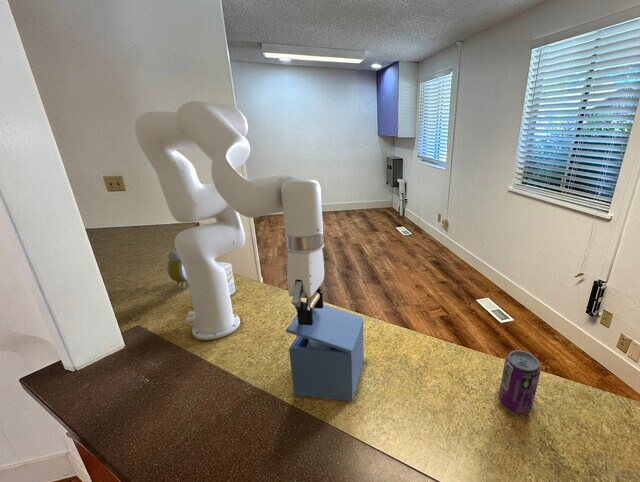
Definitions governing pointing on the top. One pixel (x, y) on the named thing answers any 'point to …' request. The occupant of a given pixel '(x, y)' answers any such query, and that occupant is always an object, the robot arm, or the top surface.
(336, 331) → the lid
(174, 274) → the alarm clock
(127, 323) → the top surface
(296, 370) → the chest
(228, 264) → the ink box
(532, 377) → the beverage can
